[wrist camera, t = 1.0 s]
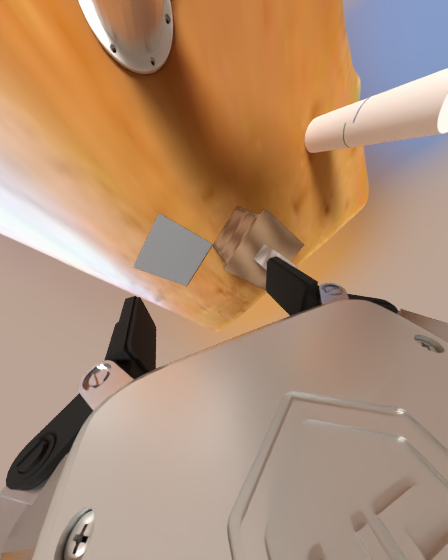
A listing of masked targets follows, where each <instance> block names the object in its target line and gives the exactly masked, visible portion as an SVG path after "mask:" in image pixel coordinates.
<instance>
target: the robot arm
mask: <svg viewBox="0 0 448 560" xmlns="http://www.w3.org/2000/svg"><path fill="white" fill-rule="evenodd" d="M78 2H79V4H80V7H81V9H82V11H83V14H84V16H85V18H86V20H87V22H88V24H89V26H90V28H91V30H92V31H93V33H94V35H95V36H96V38H97V39H98V41H99V42H100V44H101V45H102V46H103V47H104V49H105V50H106V51H107V52H108V53H109V54H110V55H111V56H112V57H113V59H114V60H116V61H117V62H118V63H119V64H121V65H122V66H123V67H125V68H127V69H129V70H130V71H132V72H136V73H139V74H150V73H154V72H156V71H157V70H159V69H160V68H161V67H162V66H163V65H164V64H165V62H166V60H167V58H168V56H169V53H170V49H171V46H172V38H173V16H172V8H171V2H170V0H78ZM166 21H168V23H169V24H167V23H166ZM113 50H116V53H113ZM152 62H153V63H154V66H153V65H152V64H151V63H152ZM317 284H318V282H317V281H316V280H314V279H312V278H311V277H309V276H308V275H306V274H304V273H303V272H301V271H300V270H298V269H297V268H295V267H293V266H292V265H290V264H289V263H287V262H285V261H284V260H282V259H281V258H279V257H277V256H275V257H272V258H269V260H268V261H267V271H266V291H267V293H268V294H269V295H271V297H272V298H273V299H274V300H275V301H276V302H277V303H278V304H279V305H280V306H281V307H282V308H283V309H284V310H285V311H286V312H287V313H288V314H289V315H290V316H289V317H287V318H284V319H282V320H279V321H276V322H273V323H271V324H268V325H265V326H263V327H260V328H258V329H255V330H253V331H250V332H247V333H245V334H242V335H240V336H237V337H234V338H232V339H229V340H227V341H224V342H222V343H219V344H216V345H214V346H211V347H209V348H206V349H204V350H201V351H198V352H196V353H193V354H191V355H188V356H186V357H183V358H181V359H178V360H176V361H174V362H171V363H169V364H166V365H164V366H161V367H159V368H157V369H156V326H155V324H154V322H153V320H152V318H151V317H150V315H149V313H148V311H147V309H146V307H145V305H144V303H143V302H142V300H141V298H140V297H138V298H137V297H136V296H134V297H130V298H127V299H125V302H124V306H123V309H122V313H121V316H120V320H119V322H118V323H116V325H115V328H114V331H113V334H112V337H111V341H110V344H109V347H108V351H107V354H106V357H105V360H104V361H102V362H99V363H98V364H96V365H94V366H93V367H92V368H90V369H89V370H88V371H87V372H86V373H85V374H84V375H83V377H82V378H81V380H80V382H79V385H78V391H79V394H78V395H77V397H75V398H74V399H73V400H72V401H71V402H70V403H69V404H68V405H67V406H66V407H65V408H64V409H63V410H62V411H61V412H60V413H59V414H58V415H57V416H56V417H55V418H54V419H53V420H52V421H51V422H50V423H49V424H48V425H47V426H46V427H45V428H44V429H43V430H42V431H41V432H40V433H38V434H37V436H35V437H34V438H33V439H32V440H31V441H30V442H29V443H28V444H27V445H26V447H25V448H24V449H23V450H22V451H21V452H20V453H19V455H18V456H17V458H16V459H15V460H14V462H13V463H12V465H11V467H10V469H9V471H8V474H7V478H6V486H5V487H4V488H3V490H2V491H1V492H0V560H448V323H446V322H442V321H439V320H436V319H432V318H429V317H425V316H422V315H419V314H416V313H412V312H409V311H406V310H403V309H400V311H398V310H397V308H396V307H395V306H394V305H392V304H391V303H389V302H387V301H385V300H382V299H377V298H371V297H364V296H358V295H351V294H347V292H346V290H345V289H344V288H343V287H341V286H339V285H337V284H333V283H324V284H321V285H320V286H318V285H317Z"/></svg>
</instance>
